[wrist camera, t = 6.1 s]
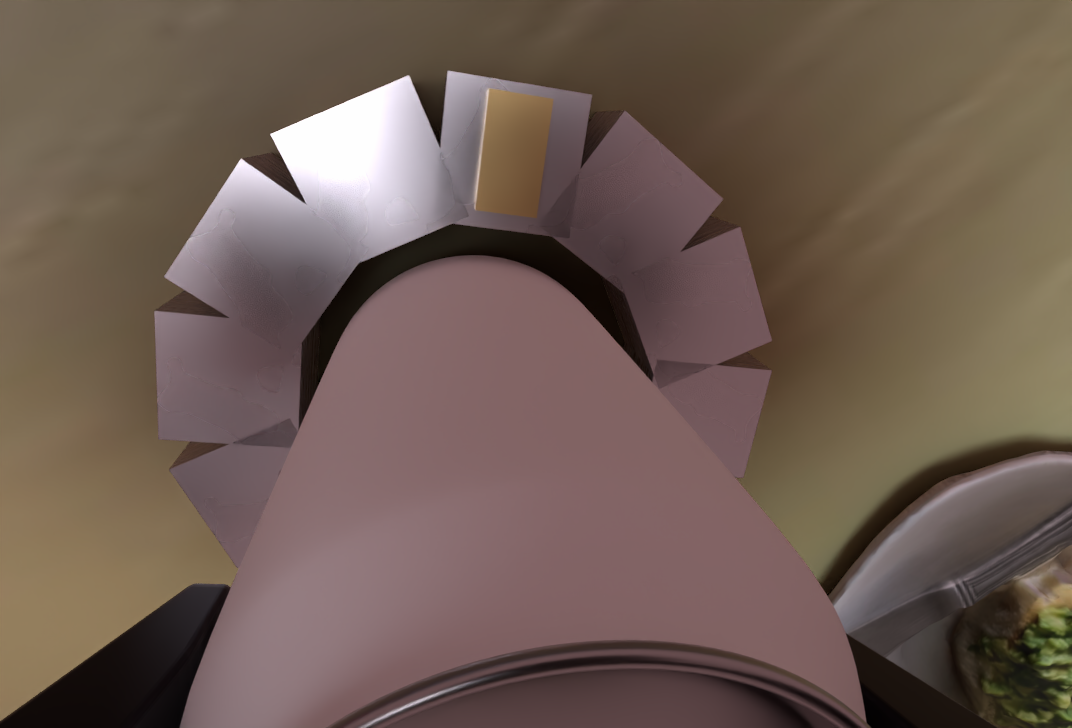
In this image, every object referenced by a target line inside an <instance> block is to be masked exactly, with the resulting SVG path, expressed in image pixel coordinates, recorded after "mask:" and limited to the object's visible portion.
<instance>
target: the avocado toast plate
mask: <svg viewBox="0 0 1072 728" xmlns="http://www.w3.org/2000/svg"><path fill="white" fill-rule="evenodd" d="M828 598H829V600H830V601H831V603H832V605H833V606H834V608H835V610H836V612H837V614H838V616H839V618H840V620H841V623H842V625H843V628H844V630H845V633H846V634H848V635H850V636H851V637H853V638H854V639H856V640H858V641H859V642H861V643H862V644H864V645H866V646H867V647H869V648H871V649H872V650H874V651H875V652H877V653H879V654H880V655H882V656H883V657H885V658H887V659H888V660H890V661H891V662H893V663H895V664H896V665H898V666H900V667H901V668H903V669H904V670H906V671H908V672H909V673H911V674H912V675H914V676H916V677H917V678H919V679H920V680H922V681H924V682H925V683H927V684H929V685H930V686H932V687H933V688H935V689H937V690H938V691H940V692H941V693H943V694H945V695H946V696H948V697H949V698H951V699H953V700H954V701H956V702H957V703H959V704H961V705H962V706H964V707H966V708H967V709H969V710H970V711H972V712H974V713H975V714H977V715H978V716H980V717H982V718H983V719H985V720H986V721H988V722H990V723H991V724H993V725H995V726H996V727H998V728H1072V452H1063V451H1039V452H1034V453H1029V454H1026V455H1023V456H1020V457H1017V458H1012V459H1007V460H1004V461H1001V462H998V463H995V464H992V465H989V466H986V467H983V468H980V469H978V470H975V471H972V472H968V473H963V474H959V475H954V476H951V477H949V478H947V479H945V480H943V481H941V482H939V483H937V484H936V485H934V486H933V487H932V488H930V489H929V490H928V491H927V492H925V493H924V494H923V495H921V496H920V497H919V498H918V499H916V500H915V501H914V502H913V503H911V504H910V505H909V506H907V507H906V508H905V509H904V510H903V511H902V512H901V513H900V514H899V515H898V516H897V517H896V518H895V519H893V520H892V521H891V522H890V523H889V524H888V525H887V526H886V527H885V528H884V529H883V530H882V531H881V532H880V533H879V534H878V535H877V536H876V537H875V538H874V539H873V540H872V541H871V543H870V544H869V545H868V547H867V548H866V549H865V550H864V552H863V553H862V554H861V555H860V556H859V558H858V559H857V560H856V561H855V562H854V563H853V565H852V566H851V567H850V568H849V570H848V571H847V572H846V574H845V575H844V576H843V578H842V579H841V580H840V582H839V583H838V584H837V585H836V587H835V588H834V589H833V591H832V592H831V593H830V594H829V596H828Z"/></svg>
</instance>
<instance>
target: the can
mask: <svg viewBox="0 0 1072 728" xmlns="http://www.w3.org/2000/svg"><path fill="white" fill-rule="evenodd" d="M180 728H871V727H870V726H869V725H868V724H867V722H866V716H865V709H864V703H863V698H862V692H861V687H860V682H859V678H858V673H857V669H856V665H855V661H854V657H853V654H852V651H851V648H850V644H849V641H848V639H847V636H846V633H845V630H844V628H843V625H842V623H841V620H840V618H839V616H838V614H837V612H836V610H835V608H834V606H833V605H832V603H831V601H830V600H829V598H828V596H827V594H826V593H825V591H824V590H823V588H822V587H821V585H820V584H819V582H818V581H817V579H816V578H815V576H814V574H813V573H812V572H811V570H810V569H809V567H808V566H807V564H806V563H805V562H804V560H803V559H802V558H801V557H800V555H799V554H798V553H797V552H796V550H795V549H794V548H793V547H792V545H791V544H790V543H789V542H788V540H787V539H786V538H785V537H784V535H783V534H782V533H781V532H780V530H779V529H778V528H777V527H776V525H775V524H774V523H773V522H772V520H771V519H770V518H769V517H768V516H767V515H766V513H765V512H764V511H763V510H762V509H761V507H760V506H759V505H758V504H757V503H756V502H755V500H754V499H753V498H752V497H751V496H750V495H749V493H748V492H747V491H746V490H745V489H744V488H743V486H742V485H741V484H740V483H739V482H738V480H737V479H736V478H735V477H734V476H733V475H732V473H731V472H730V471H729V470H728V469H727V468H726V467H725V465H724V464H723V463H722V462H721V461H720V460H719V458H718V457H717V456H716V455H715V454H714V453H713V452H712V450H711V449H710V448H709V447H708V446H707V445H706V444H705V442H704V441H703V440H702V439H701V438H700V437H699V435H698V434H697V433H696V432H695V431H694V430H693V429H692V427H691V426H690V425H689V424H688V423H687V422H686V420H685V419H684V418H683V417H682V416H681V415H680V414H679V412H678V411H677V410H676V409H675V408H674V407H673V406H672V404H671V403H670V402H669V401H668V400H667V399H666V398H665V396H664V395H663V394H662V393H661V392H660V391H659V390H658V388H657V387H656V386H655V385H654V384H653V383H652V382H651V380H650V379H649V378H648V377H647V376H646V375H645V374H644V372H643V371H642V370H641V369H640V368H639V367H638V366H637V365H636V363H635V362H634V361H633V360H632V359H631V358H630V357H629V355H628V354H627V353H626V352H625V351H624V350H623V349H622V348H621V346H620V345H619V344H618V343H617V342H616V341H615V340H614V338H613V337H612V336H611V335H610V334H609V333H608V332H607V331H606V330H605V328H604V327H603V326H602V325H601V324H600V323H599V322H598V321H597V319H596V318H595V317H594V316H593V315H592V314H591V313H590V312H589V311H588V310H587V309H586V307H585V306H584V305H583V304H582V303H581V302H580V301H579V300H578V299H577V298H576V297H575V296H574V295H573V294H572V293H571V292H569V291H568V290H567V289H566V288H565V287H564V286H562V285H561V284H560V283H558V282H557V281H555V280H554V279H552V278H551V277H549V276H548V275H546V274H544V273H542V272H540V271H539V270H536V269H534V268H532V267H530V266H527V265H525V264H522V263H519V262H516V261H513V260H509V259H505V258H499V257H493V256H484V255H464V256H453V257H447V258H442V259H438V260H434V261H430V262H427V263H424V264H421V265H419V266H416V267H414V268H411V269H409V270H407V271H405V272H403V273H402V274H400V275H398V276H396V277H395V278H393V279H392V280H390V281H389V282H387V283H386V284H384V285H383V286H382V287H380V288H379V289H378V290H377V291H376V292H375V293H374V294H372V295H371V296H370V297H369V298H368V299H367V300H366V301H365V303H364V304H363V305H362V306H361V307H360V308H359V310H358V311H357V312H356V313H355V315H354V316H353V317H352V319H351V320H350V322H349V323H348V325H347V327H346V328H345V330H344V332H343V334H342V336H341V338H340V340H339V342H338V344H337V346H336V348H335V350H334V352H333V354H332V356H331V359H330V361H329V363H328V365H327V367H326V370H325V372H324V374H323V376H322V379H321V381H320V383H319V385H318V387H317V390H316V392H315V394H314V397H313V399H312V401H311V403H310V406H309V408H308V410H307V412H306V415H305V417H304V419H303V421H302V424H301V426H300V428H299V431H298V433H297V435H296V437H295V440H294V442H293V444H292V447H291V449H290V451H289V454H288V456H287V458H286V460H285V463H284V465H283V467H282V470H281V472H280V474H279V476H278V479H277V481H276V483H275V486H274V488H273V490H272V493H271V495H270V497H269V500H268V502H267V504H266V507H265V509H264V511H263V514H262V516H261V518H260V521H259V523H258V525H257V527H256V530H255V532H254V534H253V537H252V539H251V541H250V544H249V546H248V548H247V551H246V553H245V555H244V558H243V560H242V562H241V565H240V567H239V569H238V572H237V574H236V577H235V579H234V581H233V584H232V586H231V588H230V591H229V593H228V596H227V598H226V600H225V603H224V605H223V608H222V610H221V612H220V615H219V617H218V619H217V622H216V624H215V627H214V629H213V631H212V634H211V636H210V639H209V642H208V644H207V647H206V649H205V652H204V655H203V657H202V660H201V662H200V665H199V668H198V670H197V673H196V675H195V678H194V681H193V684H192V686H191V689H190V692H189V695H188V699H187V702H186V706H185V710H184V713H183V717H182V720H181V724H180Z"/></svg>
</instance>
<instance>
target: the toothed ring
mask: <svg viewBox="0 0 1072 728" xmlns="http://www.w3.org/2000/svg"><path fill="white" fill-rule="evenodd" d="M591 99H592V95H591V94H585V93H579V92H573V91H567V90H561V89H555V88H549V87H543V86H537V85H531V84H525V83H519V82H513V81H507V80H501V79H495V78H489V77H483V76H477V75H471V74H465V73H459V72H453V71H447V75H446V79H445V90H444V100H443V110H442V121H441V131H440V142H438V140H437V138H436V135H435V133H434V131H433V128H432V126H431V124H430V121H429V119H428V117H427V114H426V112H425V110H424V107H423V105H422V103H421V100H420V98H419V96H418V93H417V91H416V89H415V86H414V84H413V82H412V80H411V78H410V76H409V75H408V76H406V77H403V78H401V79H399V80H396V81H394V82H392V83H389V84H387V85H385V86H382V87H380V88H378V89H375V90H373V91H371V92H368V93H366V94H364V95H361V96H359V97H357V98H354V99H352V100H350V101H347V102H345V103H342V104H340V105H338V106H335V107H333V108H331V109H328V110H326V111H324V112H321V113H319V114H317V115H314V116H312V117H310V118H307V119H305V120H303V121H300V122H298V123H296V124H293V125H291V126H288V127H286V128H284V129H281V130H279V131H277V132H274V133H272V134H271V136H272V138H273V140H274V142H275V144H276V146H277V148H278V150H279V152H280V154H281V156H282V158H283V160H284V161H285V162H284V161H282V160H281V159H279V158H278V157H277V156H275V155H274V154H272V153H267V154H262V155H257V156H252V157H247V158H242V159H241V160H240V161H239V163H238V164H237V166H236V167H235V169H234V170H233V172H232V173H231V175H230V176H229V178H228V180H227V181H226V183H225V184H224V186H223V187H222V189H221V190H220V192H219V193H218V195H217V196H216V198H215V199H214V201H213V203H212V204H211V206H210V207H209V209H208V210H207V212H206V213H205V215H204V216H203V218H202V219H201V221H200V222H199V224H198V226H197V227H196V229H195V230H194V232H193V233H192V235H191V236H190V238H189V239H188V241H187V242H186V244H185V245H184V247H183V249H182V250H181V252H180V253H179V255H178V256H177V258H176V259H175V261H174V262H173V264H172V265H171V267H170V268H169V270H168V272H167V273H166V275H165V276H164V277H165V278H166V279H168V280H169V281H171V282H173V283H174V284H176V285H178V286H179V287H181V288H182V289H184V291H183V292H181V293H180V294H178V295H177V296H176V297H174V298H173V299H171V300H170V301H168V302H167V303H165V304H164V305H162V306H161V307H159V308H158V309H156V310H155V341H156V374H157V406H158V438H159V439H162V440H178V441H190V443H189V444H188V445H187V447H186V448H185V449H184V450H183V452H182V453H181V454H180V456H179V457H178V458H177V460H176V461H175V462H174V464H173V465H172V466H171V468H170V469H169V470H170V472H171V473H172V475H173V476H174V478H175V479H176V480H177V482H178V483H179V485H180V486H181V488H182V489H183V491H184V492H185V493H186V495H187V496H188V498H189V499H190V501H191V502H192V503H193V505H194V506H195V508H196V509H197V511H198V512H199V514H200V515H201V516H202V518H203V519H204V521H205V522H206V524H207V525H208V527H209V528H210V529H211V531H212V532H213V534H214V535H215V537H216V538H217V539H218V541H219V542H220V544H221V545H222V547H223V548H224V550H225V551H226V552H227V554H228V555H229V557H230V558H231V560H232V561H233V563H234V564H235V565H236V567H237V568H239V567H240V565H241V562H242V560H243V558H244V555H245V553H246V551H247V548H248V546H249V544H250V541H251V539H252V537H253V534H254V532H255V530H256V527H257V525H258V523H259V521H260V518H261V516H262V514H263V511H264V509H265V507H266V504H267V502H268V500H269V497H270V495H271V493H272V490H273V488H274V486H275V483H276V481H277V479H278V476H279V474H280V472H281V470H282V467H283V465H284V463H285V460H286V458H287V456H288V454H289V451H290V449H291V447H292V444H293V442H294V440H295V437H296V435H297V433H298V431H299V428H300V426H301V424H302V421H303V419H304V417H305V415H306V412H307V410H308V408H309V406H310V403H311V401H312V399H313V397H314V394H315V392H316V390H317V380H318V359H319V338H320V317H321V315H322V314H323V312H324V311H325V309H326V308H327V306H328V305H329V304H330V302H331V301H332V299H333V298H334V297H335V295H336V294H337V292H338V291H339V290H340V288H341V287H342V285H343V284H344V283H345V281H346V280H347V278H348V277H349V276H350V274H351V273H352V271H353V270H354V269H355V267H356V266H357V264H358V263H361V262H363V261H365V260H368V259H370V258H372V257H375V256H377V255H379V254H382V253H384V252H386V251H389V250H391V249H394V248H396V247H398V246H401V245H403V244H405V243H408V242H410V241H412V240H415V239H417V238H419V237H422V236H424V235H426V234H429V233H431V232H433V231H436V230H438V229H441V228H443V227H445V226H448V225H450V224H459V225H467V226H475V227H483V228H491V229H499V230H506V231H514V232H522V233H530V234H538V235H546V236H552V237H553V238H555V239H556V240H557V241H558V242H560V243H561V244H562V245H563V246H565V247H566V248H567V249H569V250H570V251H571V252H572V253H574V254H575V255H576V256H577V257H579V258H580V259H581V260H582V261H584V262H585V263H586V264H588V265H589V266H590V267H591V268H593V269H594V270H595V271H596V272H598V273H599V274H600V275H601V278H602V281H603V284H604V286H605V289H606V292H607V295H608V297H609V300H610V303H611V305H612V308H613V311H614V314H615V316H616V319H617V322H618V325H619V327H620V330H621V333H622V335H623V338H624V341H625V342H624V347H623V350H624V351H625V352H626V353H627V354H628V355H629V357H630V358H631V359H632V360H633V361H634V362H635V363H636V365H637V366H638V367H639V368H640V369H641V370H642V371H643V372H644V374H645V375H646V376H647V377H648V378H649V379H650V380H651V382H652V383H653V384H654V385H655V386H656V387H657V388H658V390H659V391H660V392H661V393H662V394H663V395H664V396H665V398H666V399H667V400H668V401H669V402H670V403H671V404H672V406H673V407H674V408H675V409H676V410H677V411H678V412H679V414H680V415H681V416H682V417H683V418H684V419H685V420H686V422H687V423H688V424H689V425H690V426H691V427H692V429H693V430H694V431H695V432H696V433H697V434H698V435H699V437H700V438H701V439H702V440H703V441H704V442H705V444H706V445H707V446H708V447H709V448H710V449H711V450H712V452H713V453H714V454H715V455H716V456H717V457H718V458H719V460H720V461H721V462H722V463H723V464H724V465H725V467H726V468H727V469H728V470H729V471H730V472H731V473H732V475H733V476H734V477H739V478H743V477H744V473H745V469H746V466H747V462H748V458H749V454H750V451H751V447H752V443H753V439H754V436H755V432H756V428H757V424H758V421H759V417H760V413H761V410H762V406H763V402H764V398H765V395H766V391H767V387H768V383H769V380H770V376H771V372H772V370H771V369H769V368H768V367H767V366H765V365H764V364H762V363H761V362H760V361H758V360H757V359H756V358H754V357H753V356H752V355H750V354H749V353H748V352H747V351H750V350H752V349H754V348H757V347H759V346H761V345H764V344H766V343H768V342H771V341H772V339H771V335H770V332H769V328H768V324H767V321H766V317H765V314H764V310H763V306H762V303H761V299H760V296H759V292H758V288H757V285H756V281H755V278H754V274H753V270H752V267H751V263H750V260H749V256H748V252H747V249H746V245H745V242H744V238H743V234H742V231H741V227H740V226H737V225H734V224H731V223H728V222H726V221H723V220H720V219H717V218H714V217H711V216H710V215H711V214H712V212H713V211H714V210H715V209H716V208H717V206H718V205H719V204H720V203H721V201H722V200H723V198H722V197H721V196H719V195H718V194H717V193H716V192H715V191H714V190H713V189H712V188H711V187H709V186H708V185H707V184H706V183H705V182H704V181H703V180H702V179H701V178H699V177H698V176H697V175H696V174H695V173H694V172H693V171H692V170H691V169H689V168H688V167H687V166H686V165H685V164H684V163H683V162H682V161H681V160H679V159H678V158H677V157H676V156H675V155H674V154H673V153H672V152H671V151H669V150H668V149H667V148H666V147H665V146H664V145H663V144H662V143H661V142H659V141H658V140H657V139H656V138H655V137H654V136H653V135H652V134H651V133H649V132H648V131H647V130H646V129H645V128H644V127H643V126H642V125H641V124H639V123H638V122H637V121H636V120H635V119H634V118H633V117H632V116H631V115H629V114H628V113H627V112H626V111H606V112H596V113H595V115H594V116H593V117H592V119H591V120H590V121H589V123H588V118H589V112H590V106H591Z"/></svg>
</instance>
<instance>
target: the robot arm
mask: <svg viewBox="0 0 1072 728" xmlns="http://www.w3.org/2000/svg"><path fill="white" fill-rule="evenodd" d="M229 591H230V587H229V586H228V585H225V584H193V585H190V586H189V587H187V588H186V589H184V590H183V591H181V592H180V593H179V594H177V595H176V596H174V597H173V598H172V599H170V600H169V601H167V602H166V603H165V604H163V605H162V606H160V607H159V608H158V609H156V610H155V611H153V612H152V613H151V614H149V615H148V616H146V617H145V618H144V619H142V620H141V621H140V622H138V623H137V624H135V625H134V626H133V627H131V628H130V629H128V630H127V631H126V632H124V633H123V634H121V635H120V636H119V637H117V638H116V639H114V640H113V641H112V642H110V643H109V644H107V645H106V646H105V647H103V648H102V649H100V650H99V651H98V652H96V653H95V654H93V655H92V656H91V657H89V658H88V659H87V660H85V661H84V662H82V663H81V664H80V665H78V666H77V667H75V668H74V669H73V670H71V671H70V672H68V673H67V674H66V675H64V676H63V677H61V678H60V679H59V680H57V681H56V682H54V683H53V684H52V685H50V686H49V687H47V688H46V689H45V690H43V691H42V692H40V693H39V694H38V695H36V696H35V697H33V698H32V699H31V700H29V701H28V702H27V703H25V704H24V705H22V706H21V707H20V708H18V709H17V710H15V711H14V712H13V713H11V714H10V715H8V716H7V717H6V718H4V719H3V720H1V721H0V728H180V724H181V720H182V717H183V713H184V710H185V706H186V702H187V699H188V695H189V692H190V689H191V686H192V684H193V681H194V678H195V675H196V673H197V670H198V668H199V665H200V662H201V660H202V657H203V655H204V652H205V649H206V647H207V644H208V642H209V639H210V636H211V634H212V631H213V629H214V627H215V624H216V622H217V619H218V617H219V615H220V612H221V610H222V608H223V605H224V603H225V600H226V598H227V596H228V593H229ZM846 636H847V639H848V641H849V644H850V648H851V651H852V654H853V657H854V661H855V665H856V669H857V673H858V678H859V682H860V687H861V692H862V698H863V703H864V709H865V716H866V722H867V724H868V725H869V726H870V727H871V728H998V727H996V726H995V725H993V724H991V723H990V722H988V721H986V720H985V719H983V718H982V717H980V716H978V715H977V714H975V713H974V712H972V711H970V710H969V709H967V708H966V707H964V706H962V705H961V704H959V703H957V702H956V701H954V700H953V699H951V698H949V697H948V696H946V695H945V694H943V693H941V692H940V691H938V690H937V689H935V688H933V687H932V686H930V685H929V684H927V683H925V682H924V681H922V680H920V679H919V678H917V677H916V676H914V675H912V674H911V673H909V672H908V671H906V670H904V669H903V668H901V667H900V666H898V665H896V664H895V663H893V662H891V661H890V660H888V659H887V658H885V657H883V656H882V655H880V654H879V653H877V652H875V651H874V650H872V649H871V648H869V647H867V646H866V645H864V644H862V643H861V642H859V641H858V640H856V639H854V638H853V637H851V636H850V635H848V634H846Z"/></svg>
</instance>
